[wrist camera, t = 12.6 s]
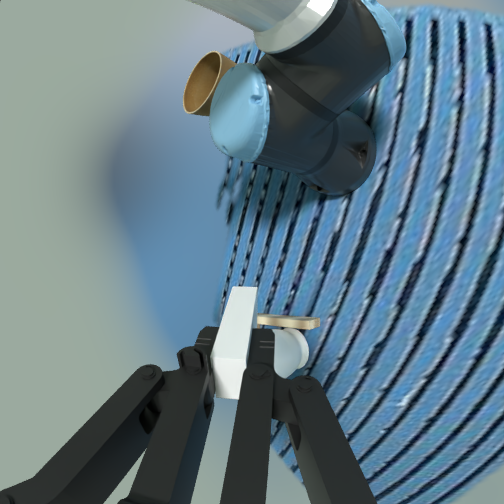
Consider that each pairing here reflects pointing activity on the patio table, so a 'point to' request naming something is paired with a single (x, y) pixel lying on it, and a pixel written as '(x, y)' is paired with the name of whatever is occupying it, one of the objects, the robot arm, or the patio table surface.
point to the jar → (289, 351)
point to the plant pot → (205, 83)
